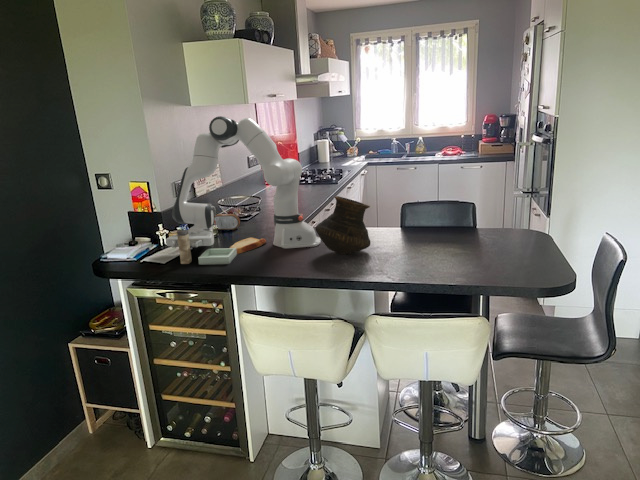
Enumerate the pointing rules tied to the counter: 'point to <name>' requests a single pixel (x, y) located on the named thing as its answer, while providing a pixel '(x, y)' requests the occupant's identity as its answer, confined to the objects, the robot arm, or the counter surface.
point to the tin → (226, 221)
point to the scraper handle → (184, 246)
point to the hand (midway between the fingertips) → (184, 245)
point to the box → (218, 256)
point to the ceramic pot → (345, 227)
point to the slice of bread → (248, 244)
